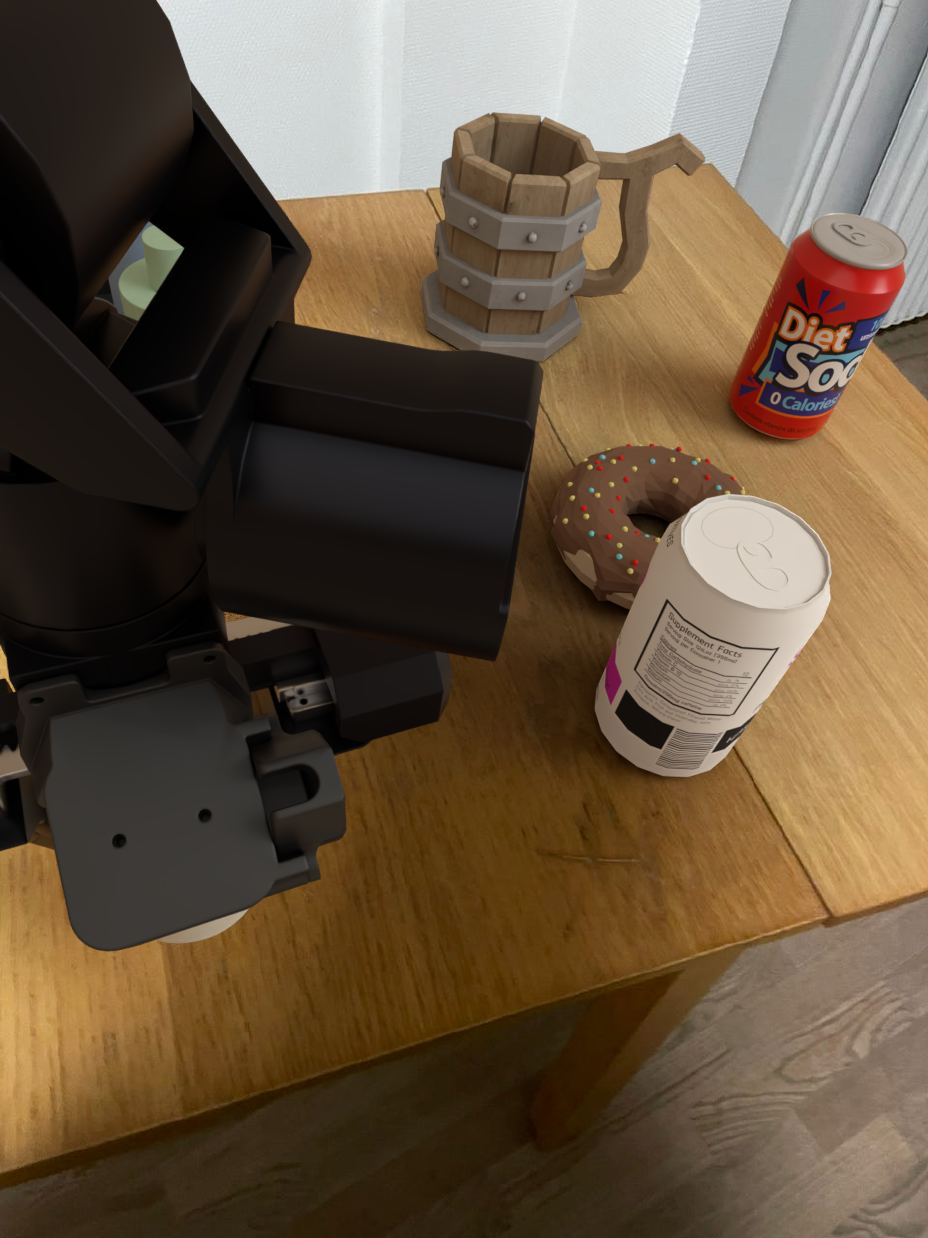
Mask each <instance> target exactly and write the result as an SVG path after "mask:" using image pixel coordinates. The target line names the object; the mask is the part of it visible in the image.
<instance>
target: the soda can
mask: <svg viewBox="0 0 928 1238" xmlns="http://www.w3.org/2000/svg"><path fill="white" fill-rule="evenodd" d="M907 257H908V246H907V244H906V243H905V241H904V239H903V238H902V237H901V236H900V235H899V234H897V232H895V231H894V230H893V229H891V228H889V227H888V226H887V225H885V224H883V223H881V222H879V221H877V220H874V219H873V218H872V219H871V218H869V217H866V216H863V215H859V214H855V213H849V212H828V213H824V214H820V215H819V216H817V217H815V219H813V221H812V222H811V224H810V227H809V228H807V230H805V231H803V232H801V233H800V234H799V235H797V236H796V237H795V239H794V240H793V241H792V243H791V245H790V247H789V249H788V251H787V253H786V256H785V259H784V261H783V263H782V265H781V267H780V270H779V272H778V274H777V277H776V279H775V282H774V284H773V285H772V288H771V290H770V293H769V295H768V298H767V300H766V302H765V305H764V307H763V309H762V311H761V314H760V316H759V318H758V320H757V323H756V325H755V327H754V330H753V333H752V334H751V337H750V339H749V342H748V344H747V346H746V349H745V351H744V353H743V355H742V358H741V360H740V362H739V364H738V367H737V370H736V372H735V373H734V377H733V379H732V381H731V384H730V387H729V390H728V400H729V404H730V406H731V409H732V410H733V412H734V413H735V415H736V416H738V418H739V419H740V420H741V421H742V422H743V423H745V424H746V425H747V426H749V427H750V428H752V430H755V431H757V432H759V433H762V434H763V435H766V436H769V437H773V438H776V439H781V440H803V439H807V438H808V439H809V438H810V437H813V436H815V435H817V434H819V432H821V431H822V429H823V428H824V427H825V426H826V424H827V422H828V421H829V419H830V418H831V416H832V414H833V412H834V410H835V408H836V407H837V405H838V403H839V401H840V400H841V398H842V396H843V394H844V392H845V390H846V389H847V387H848V385H849V383H850V381H851V380H852V378H853V376H854V374H855V372H856V370H858V367H859V365H860V363H861V362H862V360H863V358H864V356H865V355H866V353H867V351H868V349H869V347H870V346H871V344H872V342H873V340H874V339H875V337H876V335H877V333H878V332H879V329H880V328H881V326H882V325H883V322H884V320H885V319H886V317H887V315H888V313H889V311H890V309H891V308H892V306H893V305H894V302H895V300H896V299H897V297H898V296H899V293H900V291H901V289H902V287H903V286H904V283H905V281H906V270H905V263H904V262H905V260H906V259H907Z"/></svg>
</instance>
